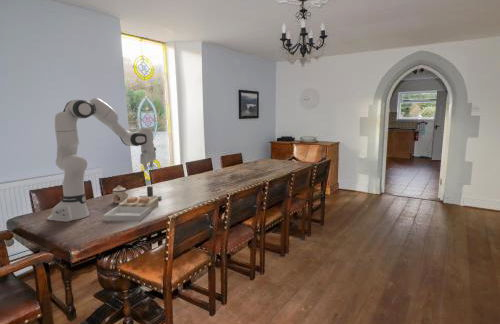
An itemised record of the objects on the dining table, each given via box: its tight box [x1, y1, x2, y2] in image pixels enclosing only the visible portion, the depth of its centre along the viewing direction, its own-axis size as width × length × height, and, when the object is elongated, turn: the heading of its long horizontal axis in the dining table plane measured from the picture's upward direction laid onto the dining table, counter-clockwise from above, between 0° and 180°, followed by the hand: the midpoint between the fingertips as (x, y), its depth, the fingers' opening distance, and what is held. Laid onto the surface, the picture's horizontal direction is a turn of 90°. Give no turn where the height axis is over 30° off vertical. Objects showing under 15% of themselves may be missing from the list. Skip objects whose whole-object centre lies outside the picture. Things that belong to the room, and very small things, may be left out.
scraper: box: [138, 185, 163, 201], centre depth 217 cm, size 16×3×10 cm, turn 88°
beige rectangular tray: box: [118, 196, 160, 211], centre depth 199 cm, size 20×17×5 cm
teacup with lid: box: [112, 185, 129, 204], centre depth 212 cm, size 12×9×12 cm
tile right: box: [139, 197, 149, 202], centre depth 196 cm, size 5×5×2 cm
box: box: [102, 205, 152, 222], centre depth 182 cm, size 22×17×4 cm
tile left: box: [127, 196, 138, 202], centre depth 197 cm, size 5×5×2 cm
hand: (148, 168), depth 214 cm, fingers open, 8 cm apart
